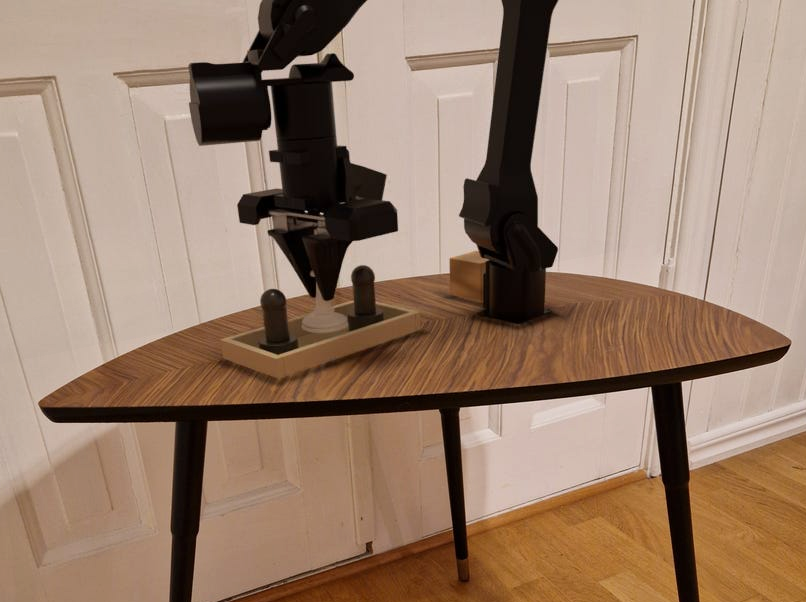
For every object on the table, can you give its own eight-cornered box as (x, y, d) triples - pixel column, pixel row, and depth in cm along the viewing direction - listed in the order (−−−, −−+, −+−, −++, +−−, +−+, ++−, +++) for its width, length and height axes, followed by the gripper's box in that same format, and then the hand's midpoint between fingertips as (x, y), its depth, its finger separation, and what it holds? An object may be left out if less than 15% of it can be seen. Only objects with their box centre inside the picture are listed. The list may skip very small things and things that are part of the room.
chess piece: (344, 333, 83) (336, 233, 79) (297, 333, 84) (286, 235, 79) (351, 318, 88) (344, 223, 83) (306, 319, 88) (297, 225, 83)
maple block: (506, 295, 102) (506, 255, 99) (480, 304, 99) (480, 263, 96) (475, 289, 105) (475, 250, 103) (449, 298, 102) (449, 258, 100)
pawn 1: (307, 356, 83) (300, 287, 79) (276, 367, 80) (267, 296, 77) (283, 348, 85) (276, 281, 82) (252, 358, 83) (243, 290, 80)
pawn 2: (391, 328, 90) (388, 264, 87) (365, 337, 88) (360, 271, 84) (367, 322, 93) (363, 259, 89) (341, 330, 90) (335, 266, 87)
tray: (363, 318, 96) (361, 297, 95) (421, 333, 90) (420, 311, 88) (223, 362, 84) (219, 339, 83) (279, 383, 78) (276, 358, 77)
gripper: (435, 130, 76) (440, 295, 83) (311, 127, 88) (324, 270, 95) (346, 143, 69) (359, 321, 76) (224, 137, 81) (246, 291, 88)
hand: (322, 298), depth 84 cm, fingers closed on chess piece
